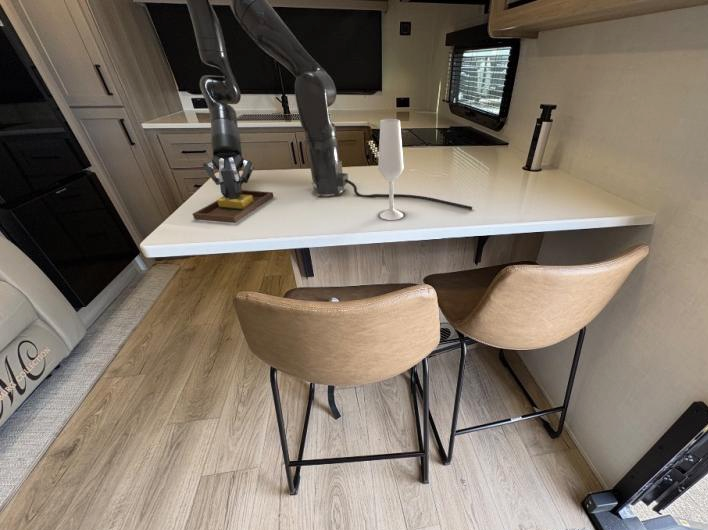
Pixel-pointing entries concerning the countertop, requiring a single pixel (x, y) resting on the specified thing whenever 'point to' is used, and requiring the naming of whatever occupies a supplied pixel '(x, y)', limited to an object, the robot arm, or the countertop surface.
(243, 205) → the grey post with base
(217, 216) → the tray
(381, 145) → the champagne flute
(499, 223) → the countertop surface
